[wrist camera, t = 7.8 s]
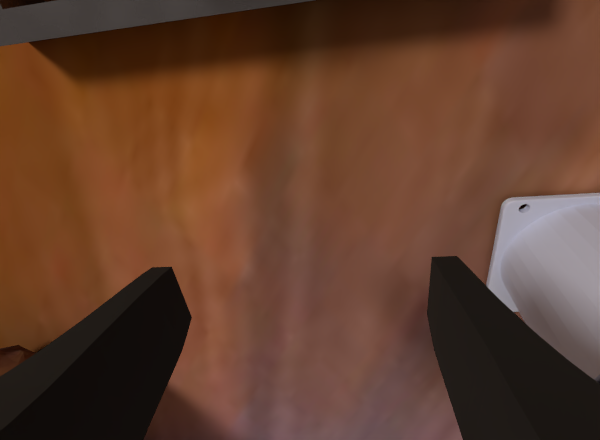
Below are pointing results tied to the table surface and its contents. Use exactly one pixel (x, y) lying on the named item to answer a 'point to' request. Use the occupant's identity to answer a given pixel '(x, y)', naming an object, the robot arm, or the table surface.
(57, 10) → the rack rail
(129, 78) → the table surface
